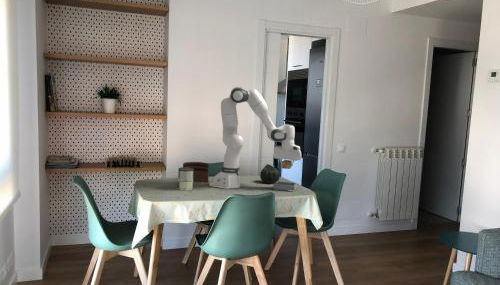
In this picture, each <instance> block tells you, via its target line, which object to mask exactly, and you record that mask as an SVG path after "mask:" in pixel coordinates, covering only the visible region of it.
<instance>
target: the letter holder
mask: <svg viewBox="0 0 500 285" xmlns="http://www.w3.org/2000/svg"><path fill="white" fill-rule="evenodd" d="M182 167H189V168H193V169H194V170H193V183H202V182H204V183H206V184H209V174H210V173H209V172H210V170H209V169H210V164H209V163H207V162H201V161H187V162H183V163H182Z"/></svg>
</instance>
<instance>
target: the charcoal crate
mask: <svg viewBox="0 0 500 285" xmlns="http://www.w3.org/2000/svg"><path fill="white" fill-rule="evenodd" d="M296 188H297V189H298V182H289V181H281V180H279V181H277V182H276V183H273V189H279V190H278V191H281V190H295V189H296ZM273 189H272V190H273ZM297 189H296V190H297ZM296 190H295V191H296Z"/></svg>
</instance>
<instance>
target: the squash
mask: <svg viewBox="0 0 500 285" xmlns="http://www.w3.org/2000/svg"><path fill="white" fill-rule="evenodd" d="M259 177H260V180H261V181H262V183H264V184H274V183H276V182H277V181H280V172H279V170H278V169H277V168H276V167H275V166H273V165H271V164H268V163H267V164H266V165H264V167H263V168H262V169H261V171H260V174H259Z"/></svg>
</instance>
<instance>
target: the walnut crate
mask: <svg viewBox="0 0 500 285" xmlns="http://www.w3.org/2000/svg"><path fill="white" fill-rule="evenodd" d="M281 161H282V165H281V169H283V170H290V169H291V168H292V167H293V166H290V164H291V163H292V162H293V161H292V160H288V159H283V160H281Z"/></svg>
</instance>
